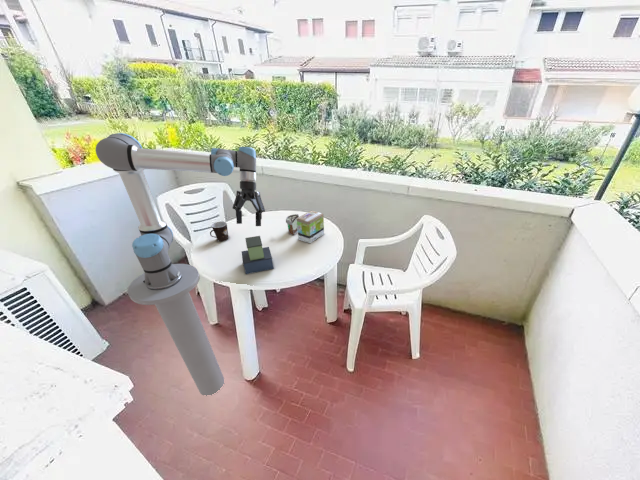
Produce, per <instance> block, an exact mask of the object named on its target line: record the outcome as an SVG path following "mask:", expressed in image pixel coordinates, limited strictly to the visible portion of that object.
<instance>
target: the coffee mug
mask: <svg viewBox="0 0 640 480" xmlns="http://www.w3.org/2000/svg"><path fill="white" fill-rule="evenodd" d="M211 228H212V230H210V232H209V235H210V237H212V238H216V240H217V241H218V242H226V241H228V240H229V239H230V238H229V237H230V236H229V229H228V223H227V222H226V221H216V222H213V223H212V224H211ZM212 233H214V235H215V236H214V235H213V234H212Z"/></svg>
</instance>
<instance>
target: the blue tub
mask: <svg viewBox="0 0 640 480" xmlns="http://www.w3.org/2000/svg"><path fill="white" fill-rule="evenodd" d="M262 248H263V253H264V258H262V259H256V260H251V261H250V257H249V253H248V249H247V250H242V251H240V252H241V259H242V265H243V268H244V272H245V274H246V275H249V274H255V273H259V272H265V271H269V270H274V264H273V263H274V262H273V256H272V253H271V249H270V247H269V246H264V247H262Z"/></svg>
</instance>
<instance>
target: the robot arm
mask: <svg viewBox="0 0 640 480" xmlns="http://www.w3.org/2000/svg"><path fill="white" fill-rule="evenodd" d="M95 154H96V157H97V158H98V160H99V161H100V162H101V163H102V164H103V165H104V166H106V167H108V168H110V169H112V170H113V171H114V172H116V173H117V174H119V176H120V179H121V181H122V183H123V186H124V189H125V190H126V193H127V195H128V198H129V200H130V203H131V205H132V207H133V209H134V212H135V215H136V216H137V219H138V221H139V226H138V231H139V233H140V236H138V237H136V238H135V239H134V240H133V241H132V242H131V243H132V244H131V247H132V250H133V254H135V256H136V258H137V260H138V262H139V264H140V266H141V268H142V270H143V273H145V280H144V281H143V282H144V283H145V284H146V286H147V288H148V289H150V290H162V289H166V288H169V287H171V286H173V285H175V284H177V283H178V282H179V281H180V280H181V278H182V275H181V273H180V271H179V270H178V269H177V268H176V267H175V266H174V265H173V264H174V263H172V260H171V258H170V256H169V250H170V247H171V245H172V243H173V240H174V233H173V230H172V229H171V227H170V226H168V224H167V222H166V221H165V220H163V219H162V218H161V215H160V213H159V210H158V207H157V204H156V202H155V199H154V197H153V193H152V191H151V188H150V186H149V183H148V181H147V178H146V175H145V172H144V170H157V171H158V170H160V171H174V172H175V171H177V172H192V173H193V172H194V173H210V174H211V173H212V174H218V175H219V176H221V177H228V176H230V175H232V173H233V171H234V169H235V168H238V169H239V180H240V181H239V189H240V190H236V195H235V199H234V202H233V204H232V209H233V210H234V211H235V217H236V219H235V220H236V224H237V225H241V224H243V212H242V208H243V206H244V205H245V203H246V202H247V201H248V202H250V203H251V204H252V206H253V208H254V210H255V211H256V212H255V227H262V219H263V213H264V212H266V209H265V206H264V203H263V200H262V197H261V192H260V191H257V152H256V149H254V148H253V147H250V146H240V147H239V148H238V150H233V149H226V148H221V147H218V148H217V147H212V148H211V149H210V153H202V152H201V153H200V152H191V151H190V152H189V151H177V150H166V149H165V150H164V149H153V148H143V146H142V145H141V143H140V142H139V141H138V139H136V138H135V137H134V136H133V135H130V134H128V133H124V132H117V133H111V134H109V135H108V136H107V137H104V138H102V139H100V140H99V141H98V142H97V143H96V146H95Z"/></svg>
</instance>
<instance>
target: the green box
mask: <svg viewBox="0 0 640 480" xmlns="http://www.w3.org/2000/svg"><path fill="white" fill-rule="evenodd" d="M245 245H246V249H247V250H248V253H249V257H250V261H251V260H256V259H262V258H264V253H263V248H264V247H263V243H262V238H261V235H256V236H248V237H245Z"/></svg>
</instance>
